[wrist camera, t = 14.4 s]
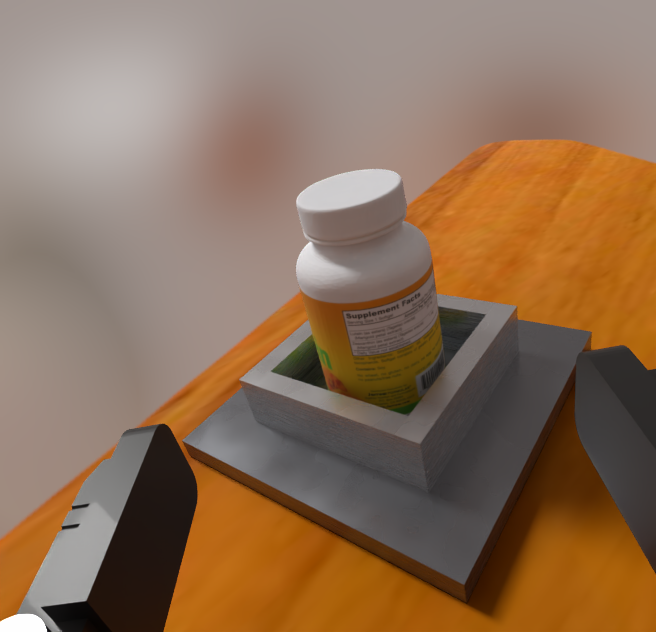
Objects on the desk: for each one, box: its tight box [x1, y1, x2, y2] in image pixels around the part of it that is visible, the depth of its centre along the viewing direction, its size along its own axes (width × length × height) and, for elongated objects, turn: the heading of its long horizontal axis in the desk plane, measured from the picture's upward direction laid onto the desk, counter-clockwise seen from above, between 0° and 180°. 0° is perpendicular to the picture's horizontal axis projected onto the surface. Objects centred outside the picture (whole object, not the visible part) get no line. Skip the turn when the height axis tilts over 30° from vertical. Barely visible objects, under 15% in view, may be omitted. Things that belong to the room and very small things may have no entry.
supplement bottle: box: [296, 169, 445, 416], centre depth 21 cm, size 5×5×10 cm
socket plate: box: [182, 294, 592, 603], centre depth 24 cm, size 14×14×4 cm
